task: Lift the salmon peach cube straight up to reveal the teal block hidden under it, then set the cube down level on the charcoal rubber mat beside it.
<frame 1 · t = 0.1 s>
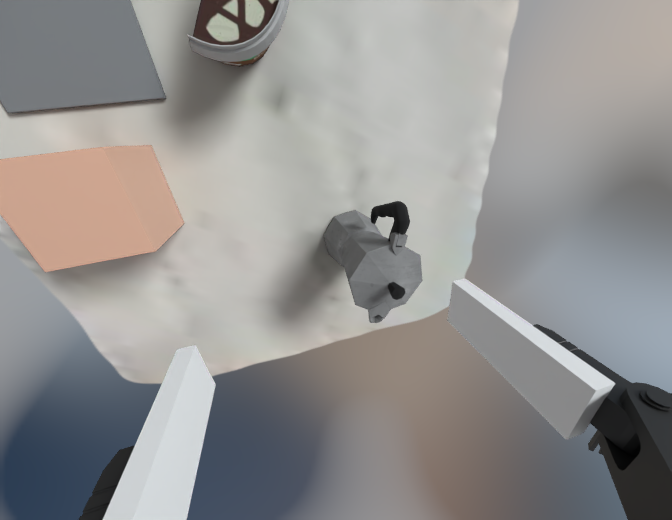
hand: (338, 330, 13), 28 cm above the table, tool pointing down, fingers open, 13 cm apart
mat: (48, 14, 24), on the table
coffeepot: (350, 230, 41), on the table
salmon peach cube: (126, 193, 31), on the table
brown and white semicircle: (255, 31, 28), on the table
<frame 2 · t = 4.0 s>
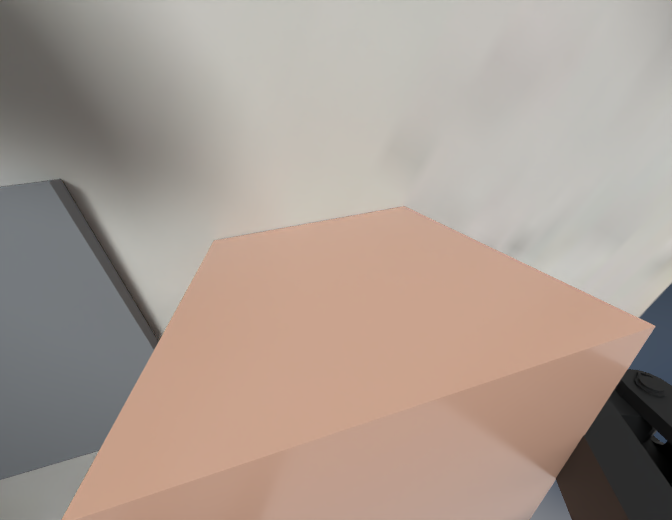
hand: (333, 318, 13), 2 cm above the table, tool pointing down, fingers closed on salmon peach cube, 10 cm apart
salmon peach cube: (327, 300, 15), on the table, touching gripper
when the fingers open (4 cm above the table, at t = 11.5 s): salmon peach cube drops 1 cm, resting on mat.
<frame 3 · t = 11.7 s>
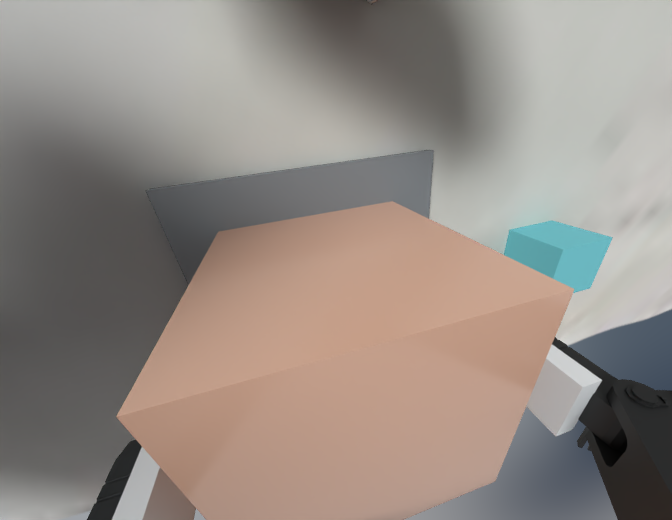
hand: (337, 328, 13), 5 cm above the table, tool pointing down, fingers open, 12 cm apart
mat: (321, 283, 17), on the table
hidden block: (548, 258, 18), on the table
salmon peach cube: (322, 288, 16), point 1 cm above the table, touching mat
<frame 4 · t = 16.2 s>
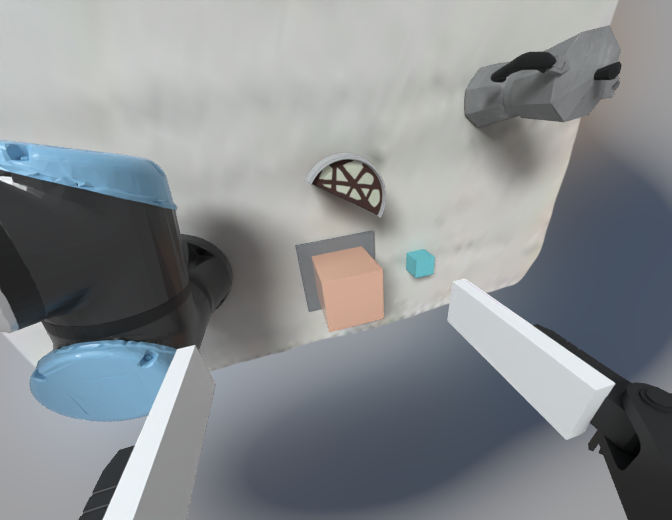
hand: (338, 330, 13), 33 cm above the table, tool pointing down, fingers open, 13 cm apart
mat: (339, 272, 50), on the table
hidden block: (419, 263, 51), on the table
coffeepot: (480, 95, 42), on the table
salmon peach cube: (339, 273, 49), point 1 cm above the table, touching mat
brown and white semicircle: (338, 172, 41), on the table
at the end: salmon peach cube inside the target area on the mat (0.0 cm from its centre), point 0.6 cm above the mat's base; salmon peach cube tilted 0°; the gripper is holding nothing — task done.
